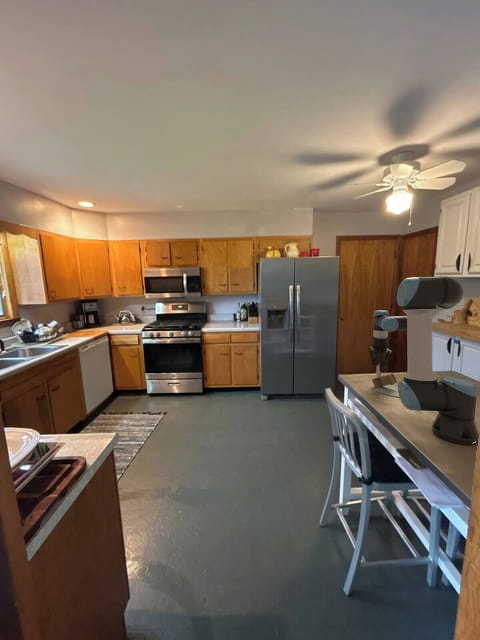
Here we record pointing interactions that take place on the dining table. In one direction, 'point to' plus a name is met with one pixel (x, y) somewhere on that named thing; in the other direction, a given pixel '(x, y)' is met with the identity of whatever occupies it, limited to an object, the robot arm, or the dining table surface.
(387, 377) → the wooden block
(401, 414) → the dining table surface
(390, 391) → the mat
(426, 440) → the dining table surface
